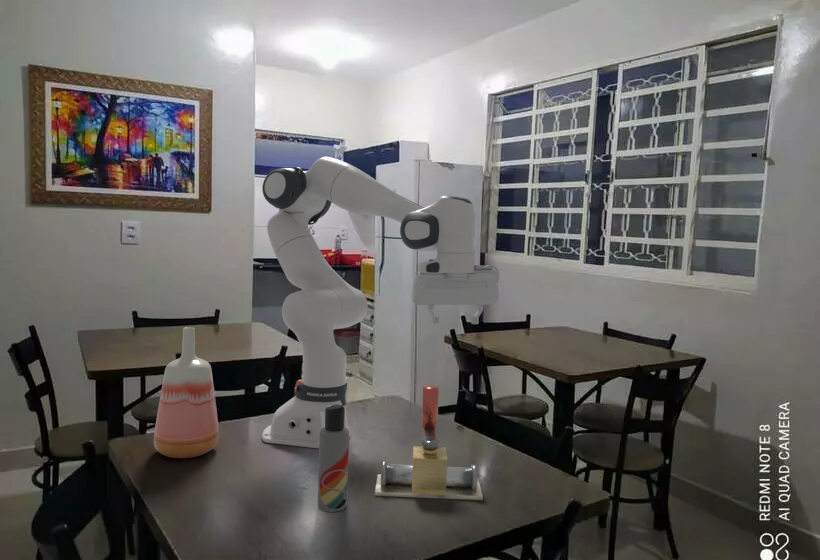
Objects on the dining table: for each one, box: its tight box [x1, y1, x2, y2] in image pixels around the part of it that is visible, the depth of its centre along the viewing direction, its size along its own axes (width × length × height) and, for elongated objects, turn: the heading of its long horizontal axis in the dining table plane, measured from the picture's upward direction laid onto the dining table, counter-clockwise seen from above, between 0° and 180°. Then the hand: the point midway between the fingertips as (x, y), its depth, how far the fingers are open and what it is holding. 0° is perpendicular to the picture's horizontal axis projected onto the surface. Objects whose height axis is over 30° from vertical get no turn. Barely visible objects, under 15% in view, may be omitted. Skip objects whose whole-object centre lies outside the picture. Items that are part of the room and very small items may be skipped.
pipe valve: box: [374, 445, 484, 501], centre depth 127 cm, size 22×9×9 cm, turn 89°
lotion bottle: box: [317, 405, 350, 513], centre depth 117 cm, size 6×6×20 cm
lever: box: [420, 385, 440, 450], centre depth 132 cm, size 14×4×10 cm, turn 179°
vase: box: [153, 326, 220, 459], centre depth 142 cm, size 14×14×30 cm
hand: (455, 323), depth 142 cm, fingers open, 8 cm apart
